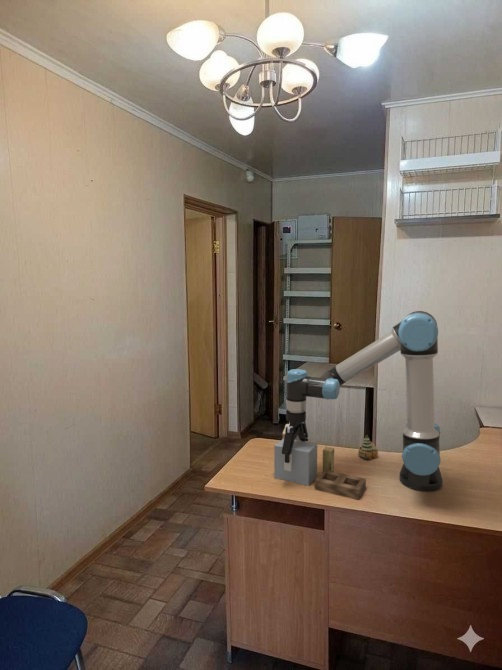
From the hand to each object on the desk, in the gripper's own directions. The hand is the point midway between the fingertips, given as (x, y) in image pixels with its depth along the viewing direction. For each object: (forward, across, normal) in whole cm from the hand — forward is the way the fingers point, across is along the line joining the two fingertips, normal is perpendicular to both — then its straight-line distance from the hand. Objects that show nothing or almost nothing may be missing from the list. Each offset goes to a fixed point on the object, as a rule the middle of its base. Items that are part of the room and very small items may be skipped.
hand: (295, 463), depth 167 cm
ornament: (+5, -32, +20) cm, 38 cm away
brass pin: (+5, -9, +10) cm, 15 cm away
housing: (+5, 0, 0) cm, 5 cm away
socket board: (+5, +1, +18) cm, 19 cm away
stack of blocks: (+6, -22, -11) cm, 25 cm away
